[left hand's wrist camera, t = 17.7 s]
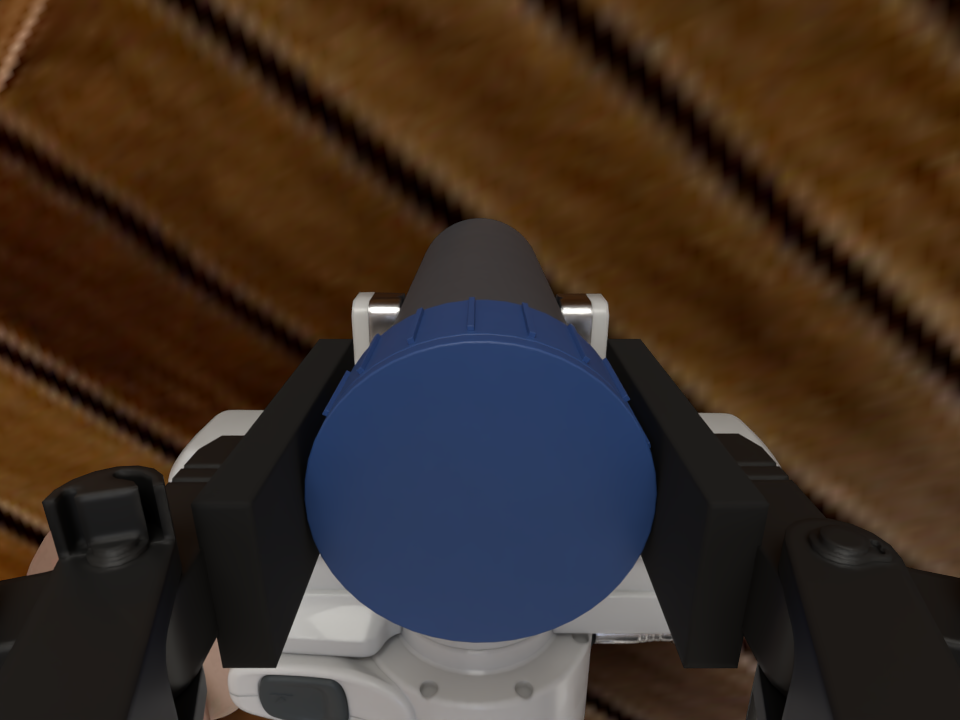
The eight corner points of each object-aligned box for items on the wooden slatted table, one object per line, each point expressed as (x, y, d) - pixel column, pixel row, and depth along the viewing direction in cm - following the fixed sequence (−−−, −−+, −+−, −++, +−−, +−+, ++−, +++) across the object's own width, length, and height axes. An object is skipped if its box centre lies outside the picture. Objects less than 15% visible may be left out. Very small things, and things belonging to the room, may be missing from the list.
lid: (644, 532, 13) (680, 616, 11) (379, 580, 13) (358, 671, 11) (605, 265, 11) (638, 300, 9) (293, 333, 11) (247, 382, 9)
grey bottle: (463, 355, 27) (441, 641, 12) (397, 260, 25) (274, 448, 10) (561, 295, 26) (676, 523, 11) (498, 193, 24) (529, 291, 9)
